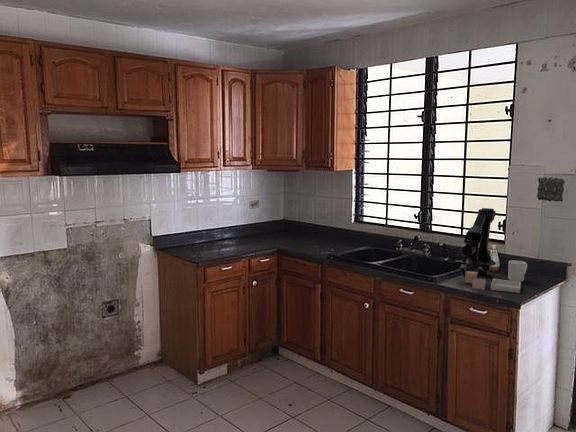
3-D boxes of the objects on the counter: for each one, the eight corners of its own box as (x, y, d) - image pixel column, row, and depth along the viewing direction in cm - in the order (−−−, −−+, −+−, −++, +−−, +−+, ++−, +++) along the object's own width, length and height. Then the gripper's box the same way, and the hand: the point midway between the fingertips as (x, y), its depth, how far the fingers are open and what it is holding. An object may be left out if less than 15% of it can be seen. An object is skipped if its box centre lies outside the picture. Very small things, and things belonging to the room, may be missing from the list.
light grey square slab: (492, 282, 266) (493, 278, 266) (520, 286, 260) (520, 281, 259) (490, 289, 254) (490, 284, 253) (519, 293, 247) (520, 288, 247)
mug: (514, 282, 267) (515, 264, 266) (504, 278, 276) (505, 260, 275) (531, 281, 270) (532, 263, 268) (520, 277, 278) (522, 259, 277)
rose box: (473, 285, 261) (473, 277, 261) (485, 287, 259) (485, 279, 258) (472, 288, 256) (472, 280, 255) (484, 290, 253) (484, 281, 253)
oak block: (466, 279, 272) (466, 271, 272) (477, 281, 270) (478, 272, 269) (464, 282, 267) (465, 273, 266) (476, 283, 264) (476, 275, 264)
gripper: (453, 253, 263) (451, 281, 265) (489, 257, 255) (487, 285, 257) (456, 250, 273) (454, 276, 275) (491, 253, 265) (489, 280, 267)
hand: (471, 280), depth 268 cm, fingers closed on oak block, 6 cm apart
